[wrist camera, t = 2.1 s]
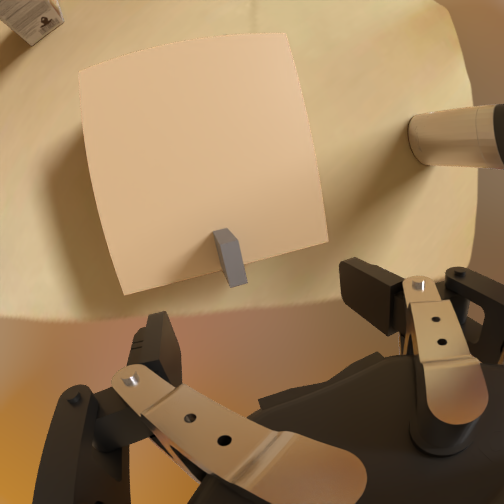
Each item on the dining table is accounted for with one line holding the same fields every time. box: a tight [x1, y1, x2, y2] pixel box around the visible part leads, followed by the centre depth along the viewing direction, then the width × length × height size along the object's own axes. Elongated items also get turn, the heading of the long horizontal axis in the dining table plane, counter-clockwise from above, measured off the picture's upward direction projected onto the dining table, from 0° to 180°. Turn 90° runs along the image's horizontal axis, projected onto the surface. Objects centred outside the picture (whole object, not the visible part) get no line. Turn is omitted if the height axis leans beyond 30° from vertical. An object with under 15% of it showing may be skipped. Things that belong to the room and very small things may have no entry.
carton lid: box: [78, 33, 329, 295], centre depth 18 cm, size 19×20×6 cm
